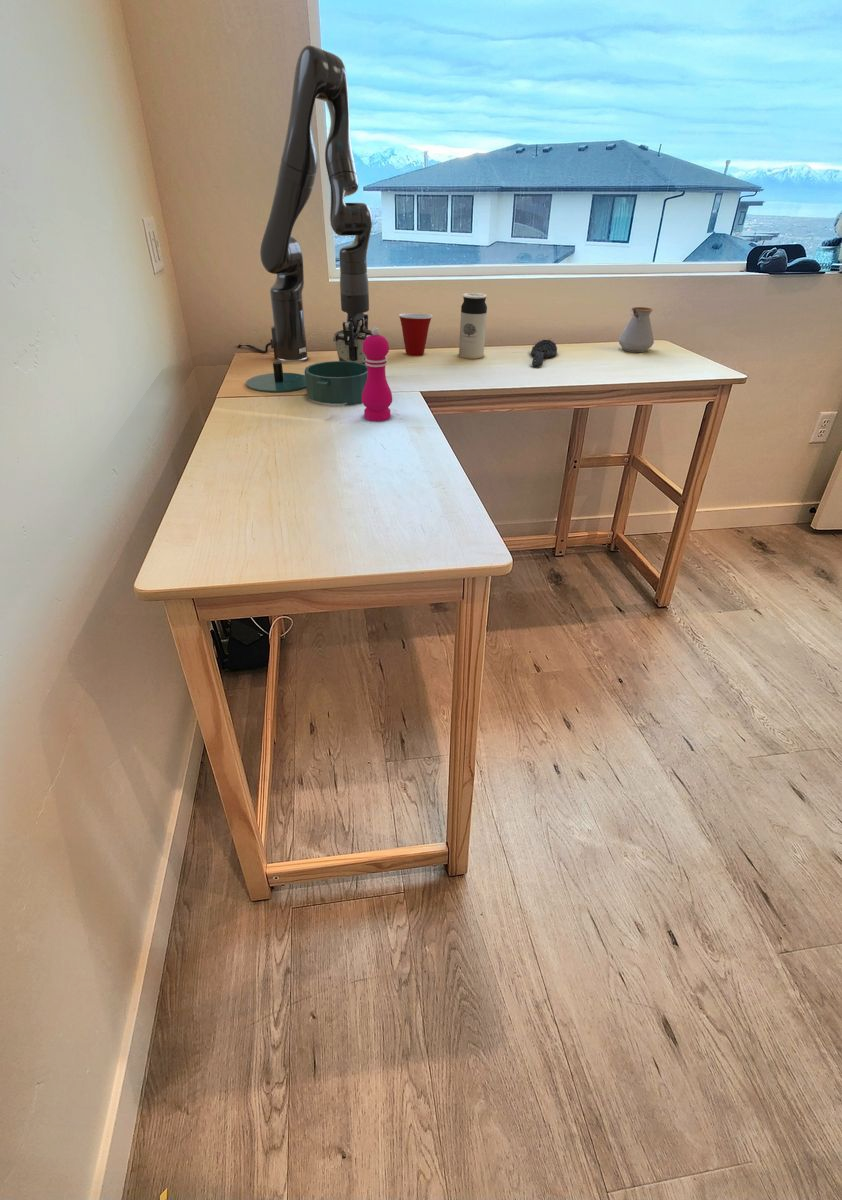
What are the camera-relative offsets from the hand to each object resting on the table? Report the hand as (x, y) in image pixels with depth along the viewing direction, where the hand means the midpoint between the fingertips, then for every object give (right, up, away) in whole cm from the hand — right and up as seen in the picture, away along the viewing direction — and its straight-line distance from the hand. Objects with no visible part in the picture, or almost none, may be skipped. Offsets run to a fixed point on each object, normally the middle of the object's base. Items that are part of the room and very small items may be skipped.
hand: (357, 357), depth 174 cm
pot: (-3, -15, -13) cm, 20 cm away
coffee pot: (+89, +14, +33) cm, 96 cm away
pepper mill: (+8, -25, -26) cm, 37 cm away
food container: (0, -2, +3) cm, 3 cm away
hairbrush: (+57, +9, +25) cm, 62 cm away
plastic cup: (+16, +12, +27) cm, 33 cm away
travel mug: (+34, +10, +25) cm, 44 cm away
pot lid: (-21, -9, -6) cm, 23 cm away
